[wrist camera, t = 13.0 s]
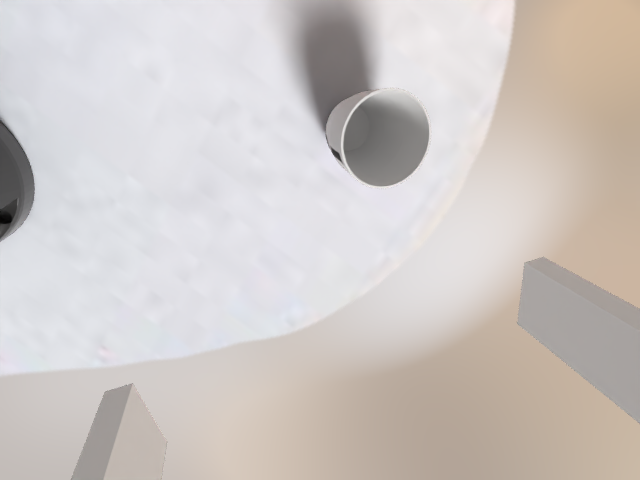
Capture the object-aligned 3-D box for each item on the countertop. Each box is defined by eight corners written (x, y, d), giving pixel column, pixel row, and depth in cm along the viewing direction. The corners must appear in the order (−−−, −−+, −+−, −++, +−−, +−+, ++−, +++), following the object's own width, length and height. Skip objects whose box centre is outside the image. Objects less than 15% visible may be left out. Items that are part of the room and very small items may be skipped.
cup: (297, 138, 36) (321, 155, 28) (342, 69, 35) (382, 64, 26) (354, 178, 40) (391, 205, 31) (397, 117, 38) (449, 127, 29)
